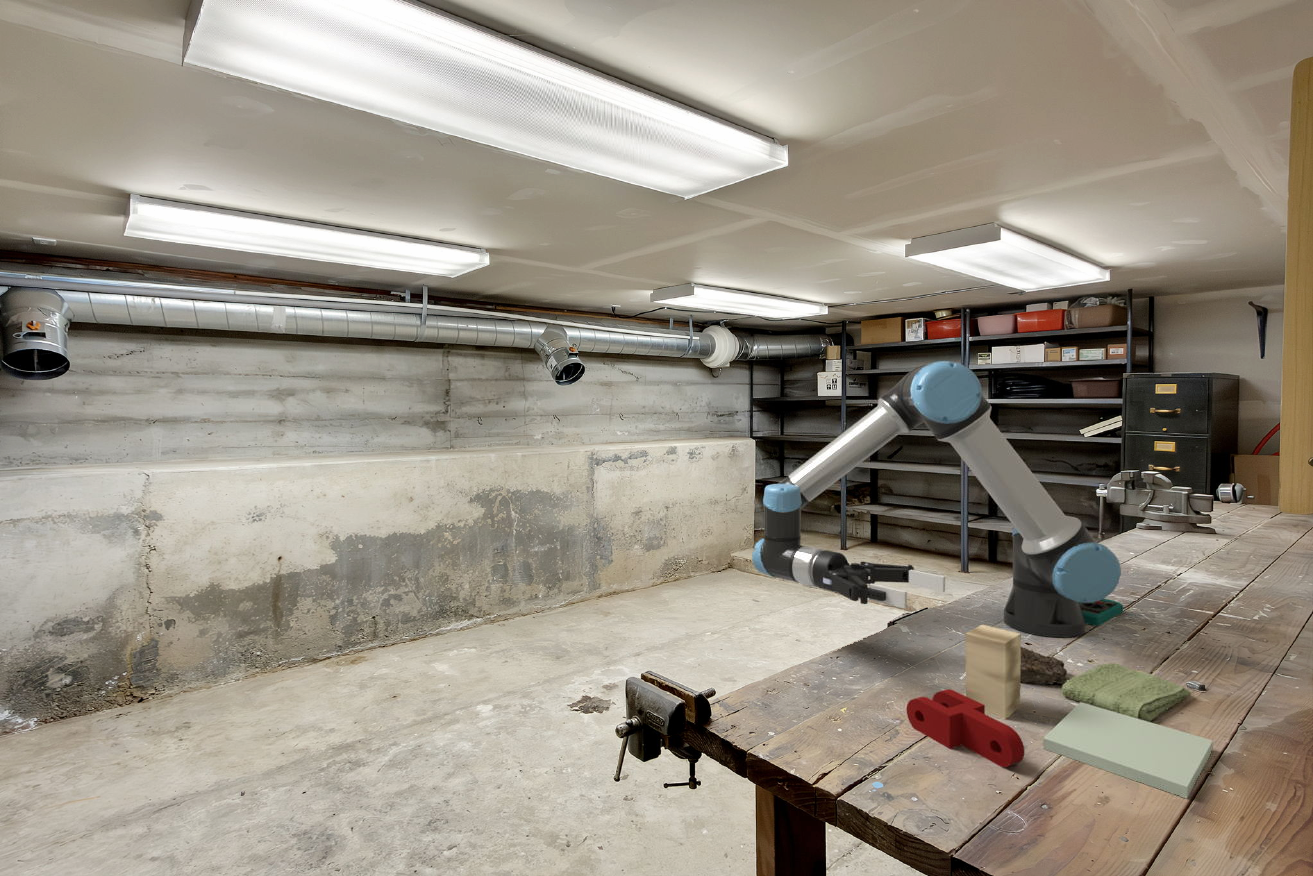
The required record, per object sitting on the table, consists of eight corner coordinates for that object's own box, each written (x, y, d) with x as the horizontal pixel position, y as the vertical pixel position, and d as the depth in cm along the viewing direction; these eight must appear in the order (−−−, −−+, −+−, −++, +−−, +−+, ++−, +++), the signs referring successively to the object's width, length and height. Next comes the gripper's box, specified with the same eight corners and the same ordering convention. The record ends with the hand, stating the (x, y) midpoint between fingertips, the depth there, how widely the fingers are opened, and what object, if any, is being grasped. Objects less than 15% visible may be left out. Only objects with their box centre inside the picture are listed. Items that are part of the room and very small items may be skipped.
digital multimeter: (1124, 614, 148) (1124, 601, 148) (1097, 628, 139) (1097, 615, 139) (1088, 606, 154) (1088, 594, 154) (1060, 620, 145) (1060, 607, 145)
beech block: (981, 694, 109) (981, 624, 108) (1020, 706, 104) (1020, 633, 104) (965, 706, 105) (965, 633, 104) (1005, 719, 100) (1005, 643, 100)
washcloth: (1195, 700, 106) (1195, 681, 106) (1144, 730, 97) (1144, 709, 97) (1106, 672, 117) (1106, 655, 117) (1053, 697, 108) (1053, 678, 108)
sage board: (1080, 711, 102) (1080, 702, 102) (1212, 751, 90) (1212, 740, 90) (1043, 748, 92) (1043, 738, 92) (1186, 798, 80) (1187, 787, 80)
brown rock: (984, 677, 116) (984, 649, 116) (1001, 660, 123) (1001, 633, 123) (1058, 696, 108) (1058, 666, 108) (1071, 676, 115) (1071, 648, 115)
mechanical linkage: (906, 725, 100) (906, 693, 99) (940, 715, 103) (940, 684, 102) (1000, 779, 85) (1000, 742, 85) (1036, 765, 88) (1036, 729, 88)
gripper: (856, 576, 136) (958, 598, 120) (781, 600, 120) (887, 630, 104) (856, 540, 136) (958, 558, 120) (781, 560, 120) (888, 584, 104)
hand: (926, 591), depth 112 cm, fingers open, 13 cm apart
